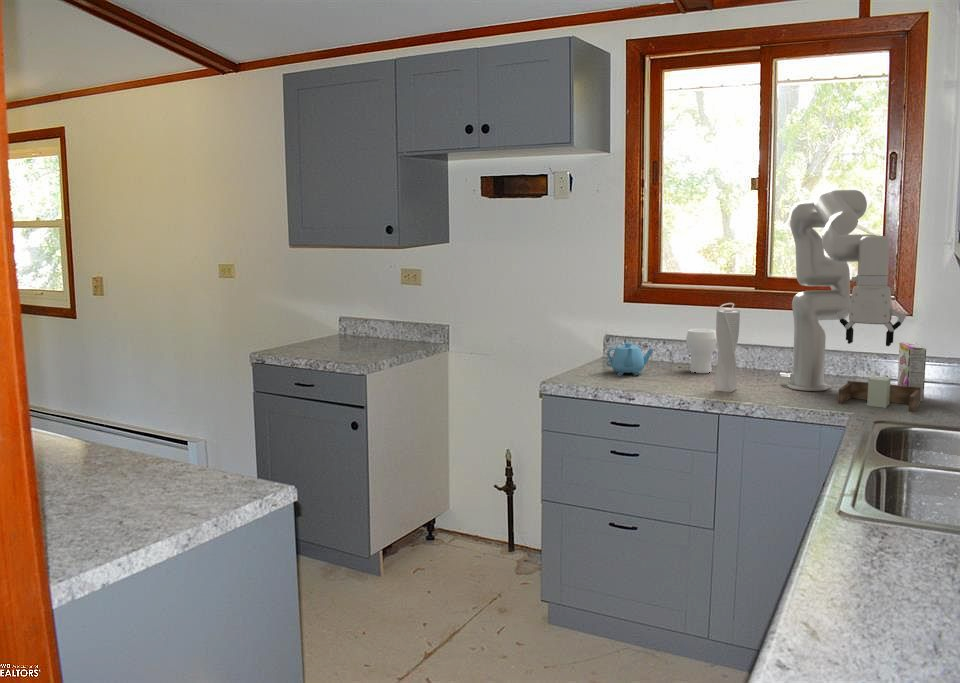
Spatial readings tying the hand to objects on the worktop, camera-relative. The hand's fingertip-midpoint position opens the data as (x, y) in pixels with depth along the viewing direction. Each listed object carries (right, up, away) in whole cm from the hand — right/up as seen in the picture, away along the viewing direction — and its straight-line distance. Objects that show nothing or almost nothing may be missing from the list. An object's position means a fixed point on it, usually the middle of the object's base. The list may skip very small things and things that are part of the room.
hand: (869, 344), depth 231 cm
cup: (-26, -10, +75) cm, 80 cm away
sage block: (+11, -18, +18) cm, 28 cm away
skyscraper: (-27, -15, +43) cm, 52 cm away
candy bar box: (+25, -17, +27) cm, 40 cm away
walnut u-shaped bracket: (+12, -18, +19) cm, 28 cm away
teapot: (-53, -11, +73) cm, 91 cm away
